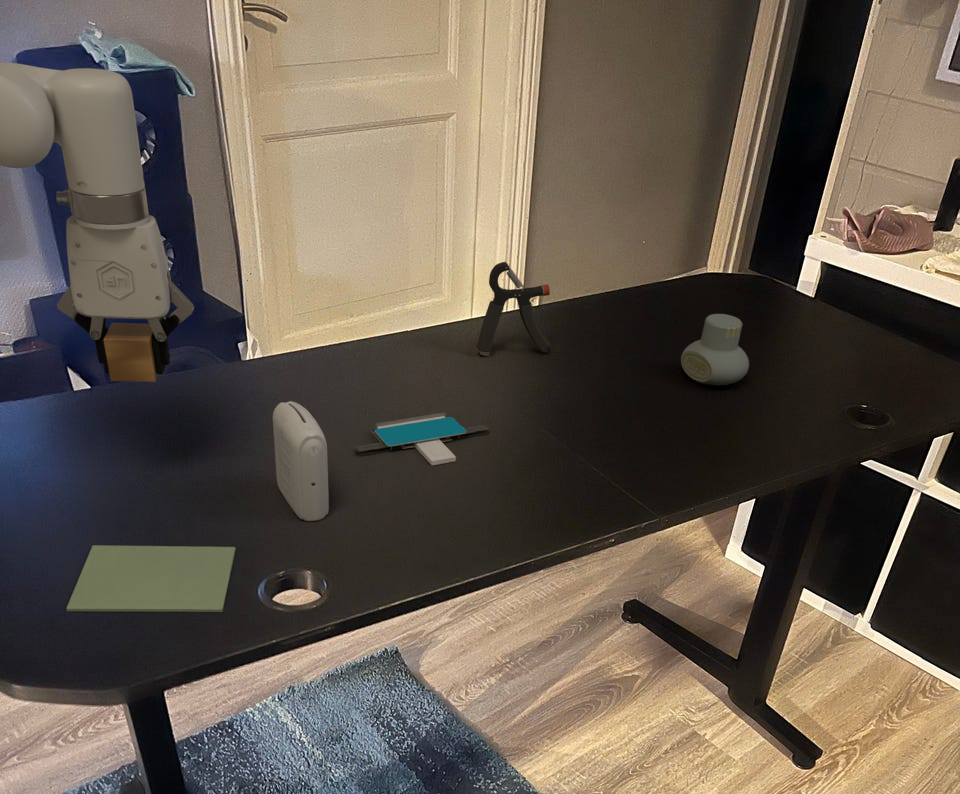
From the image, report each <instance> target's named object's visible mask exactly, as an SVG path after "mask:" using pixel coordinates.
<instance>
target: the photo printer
mask: <svg viewBox="0 0 960 794" xmlns="http://www.w3.org/2000/svg"><path fill="white" fill-rule="evenodd" d="M272 429H273V430H272V431H273V445H274V446H273V447H274V461H275V475H276V484H277V487H278V490H279V491H280V493H281V495H282V496H283V498H284V500H285V501H286V502H287V504H288V506H290V508H291V509H292V511H293V512H294V513H295V515H296V516H297V517H298V518H299V519H300V520H304V521H305V522H316V521H320V520H322V519H324V518H325V517H326V516H327V515H329V510H330V509H329V508H330V505H329V504H330V502H329V501H330V500H329V499H330V497H329V465H328V463H329V462H328V460H329V459H328V444H327V439H326V436H325V434H324V432H323V430H322V428H321V427H320V425H319V424H318V422H317V420H316V419H315V418H314V417H313V415H312V414H311V413H310V411H308V410H307V408H305V407H304V406H302V405H301V404H300V403H298V402H295V401H292V400H289V401H287V402H283V401H281V402H279V403H278V404H277V405H276V407H275V408H274V410H273V411H272Z"/></svg>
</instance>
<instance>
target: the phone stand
mask: <svg viewBox="0 0 960 794" xmlns="http://www.w3.org/2000/svg"><path fill="white" fill-rule="evenodd" d="M446 416H447V413H446V412H445V411H444V412H437V413H431V414H425V415H420V416H419V415H418V416H414V417H407V418H401V419H394V420H389V421H382V422H376V423H375V429H371V434H372V435H373V436H374V438H375V439H377V442H372V443H368V444H361V445H356V446H354V448H355V449H356V450H354V452H355V453H356V454H357V456H358V457H360V456H361V457H362V456H365V455H374V454H381V453H386V452H392V451H399V450H405V449H409V448H415V449H416V450H417V451H418V453H419V454H421V456H422V457H423V458H424V459H425V460H426V461H427V463H429V464H430V466H437V465H443V464H448V463H453V462H457V456H456V455H455V454H454V453H453V452H452V451H451V450H450V449H449V448H448V447H447V446H446V445H445V444H444V443H445V442H450V441H456V440H460V439H466V438H472V437H473V438H474V437H477V436H478V435H479V436H481V435H486V434H489V431H488V430H490V428H489V427H488V426H487V425H486V424H479V425H475V426H474V425H473V426H466V427H463V426H462V425H461V424H460V423H459V421H457V420H456V419H455V418H454V417H452V416H448V417H446Z"/></svg>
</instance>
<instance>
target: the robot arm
mask: <svg viewBox="0 0 960 794" xmlns="http://www.w3.org/2000/svg"><path fill="white" fill-rule="evenodd" d="M139 141H140V140H139V134H138V127H137V119H136V112H135V105H134V98H133V92H132V88H131V86H130V83H129V81H128V80H127V79H126V78H125V76H123V75H122V74H120V73H118V72H117V71H116V72H115V71H113V70H109V69H102V68H89V67H85V68H84V67H83V68H82V67H81V68H70V69H64V70H62V69H61V70H60V69H53V68H45V67H39V66H33V65H28V64H22V63H16V62H7V61H6V62H0V166H2V167H4V168H8V169H9V168H11V169H27V168H30V167H33V166H37V164H39V163H40V162H42V161H43V160H44V159H45V158H46V157H47V156H48V154H49V153H50V151H51V149H52V146H53V144H54V143H56V144H57V145H59V146H60V148H61V152H62V157H63V163H64V168H65V174H66V179H67V184H68V185H67V186H68V188H67V189H65V190H63V191H61V190H60V191H59V190H57V191H56V193H55V199H56V203H57V205H58V206H65V207H66V208H69V210H70V212H71V215H70V216H69V217H68V218H67V219H66V226H65V227H66V230H65V231H66V232H65V233H66V234H65V235H66V237H65V238H66V253H67V255H66V256H67V265H68V273H69V283H70V284H69V285H68V287H67V288H66V290H65V291H64V292H63V294H62V296H61V297H60V298H59V300H58V302H57V303H56V308H57V309H58V311H60V312H62V313H63V314H64V315H66V316H67V317H68V318H70V319H72V320H74V322H75V323H76V324H77V325H79V326H80V327H81V328H82V329H83V330H84V331H86V332H87V333H88V334H89V337H90V338H91V339H92V340H94V343H95V348H96V354H97V359H98V363H99V364H103V368H104V373H105V374H109V368H108V362H107V357H106V351H105V345H104V340H103V339H104V337H105V335H106V333H107V331H108V330H109V328H108V327H107V322H108V321H107V320H108V319H121V320H124V319H126V320H147V322H148V324H149V325H150V327H151V329H152V331H153V333H154V334H153V337H154V338H153V341H152V349H153V356H154V363H155V370H156V373H157V374H158V376H159V375H160V376H163V374H164V372H165V369H166V367H167V366H169V365H170V364H171V356H170V355H171V354H170V347H169V340H168V337H169V336H170V334H172V333H173V331H174V330H176V328H177V327H178V326H179V325H180V324H181V323H182V322H184V321H185V320H186V319H187V318H189V317H190V316H191V315H192V314H193V312H194V310H195V305H194V304H193V302H191V301H190V299H189V298H188V297H187V296H186V295H185V294H184V293H183V292H182V291H181V290H180V289H179V288H178V287H177V285H175V284H174V282H173V281H172V279H171V273H170V268H169V264H168V258H167V255H166V250H165V246H164V242H163V239H162V235H161V232H160V229H159V225H158V223H157V220H156V218H155V217H154V216H153V215H150V213H149V207H148V199H147V192H146V185H145V178H144V171H143V164H142V157H141V151H140V149H141V148H140V142H139ZM171 303H172V304H173V305H174V306H175V307H176V309H175V310H174V311H172V312H171V313H169V312H170V307H171ZM168 313H169V315H168V316H167V314H168ZM166 316H167V317H166Z"/></svg>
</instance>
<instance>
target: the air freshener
mask: <svg viewBox="0 0 960 794" xmlns="http://www.w3.org/2000/svg"><path fill="white" fill-rule="evenodd" d="M742 329H743V322H742V320H741V319H739V318H738V317H736V316H734V315H730V314H726V313H712V314H710V315H707V317H705V320H704V324H703V329H702V333H701V336H700V337H701V338H700V339H699V340H695V341H694V342H692V343H690V344H689V345H687V346H686V347H685V348H684V350H683V352H682V353H681V357H680V363H681V364H680V365H681V367H682V369H683V371H684V372H685V374H686V375H687V376H688V377H690V378H691V380H693V381H695V380H696V381H699V382H701V383H705V384H711V385H725V386H730V385H732V384H735V383H738V382H739V381H741V380H742V379H743V378H744V377H745V376H746V375H747V373H748V371H749V367H750V360H749V357H748V355H747V353H746V352H745V351H744V349H742V347H740V346H739V342H740V337H741V333H742ZM696 381H695V382H696ZM729 384H730V385H729Z"/></svg>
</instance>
